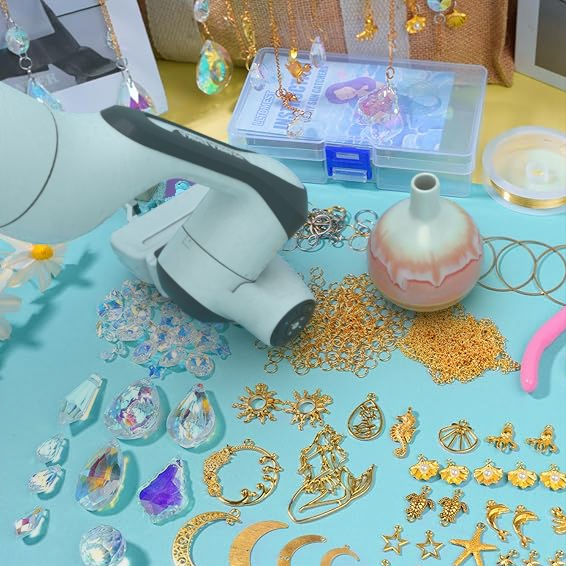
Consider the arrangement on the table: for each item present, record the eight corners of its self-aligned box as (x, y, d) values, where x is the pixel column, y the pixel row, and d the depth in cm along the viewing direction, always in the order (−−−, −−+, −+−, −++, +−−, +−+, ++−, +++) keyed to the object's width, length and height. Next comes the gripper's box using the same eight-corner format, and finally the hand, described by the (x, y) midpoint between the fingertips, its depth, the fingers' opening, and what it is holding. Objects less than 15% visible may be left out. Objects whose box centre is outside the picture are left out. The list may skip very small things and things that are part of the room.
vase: (363, 329, 98) (353, 228, 84) (374, 241, 106) (366, 135, 91) (480, 334, 96) (490, 232, 82) (482, 245, 104) (492, 137, 89)
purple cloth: (164, 202, 113) (163, 201, 113) (170, 166, 117) (169, 165, 116) (214, 200, 112) (214, 198, 112) (219, 163, 116) (218, 162, 116)
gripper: (283, 184, 100) (221, 127, 107) (139, 272, 94) (82, 206, 101) (290, 220, 105) (230, 164, 112) (153, 305, 99) (99, 241, 106)
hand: (159, 184), depth 106 cm, fingers open, 8 cm apart
